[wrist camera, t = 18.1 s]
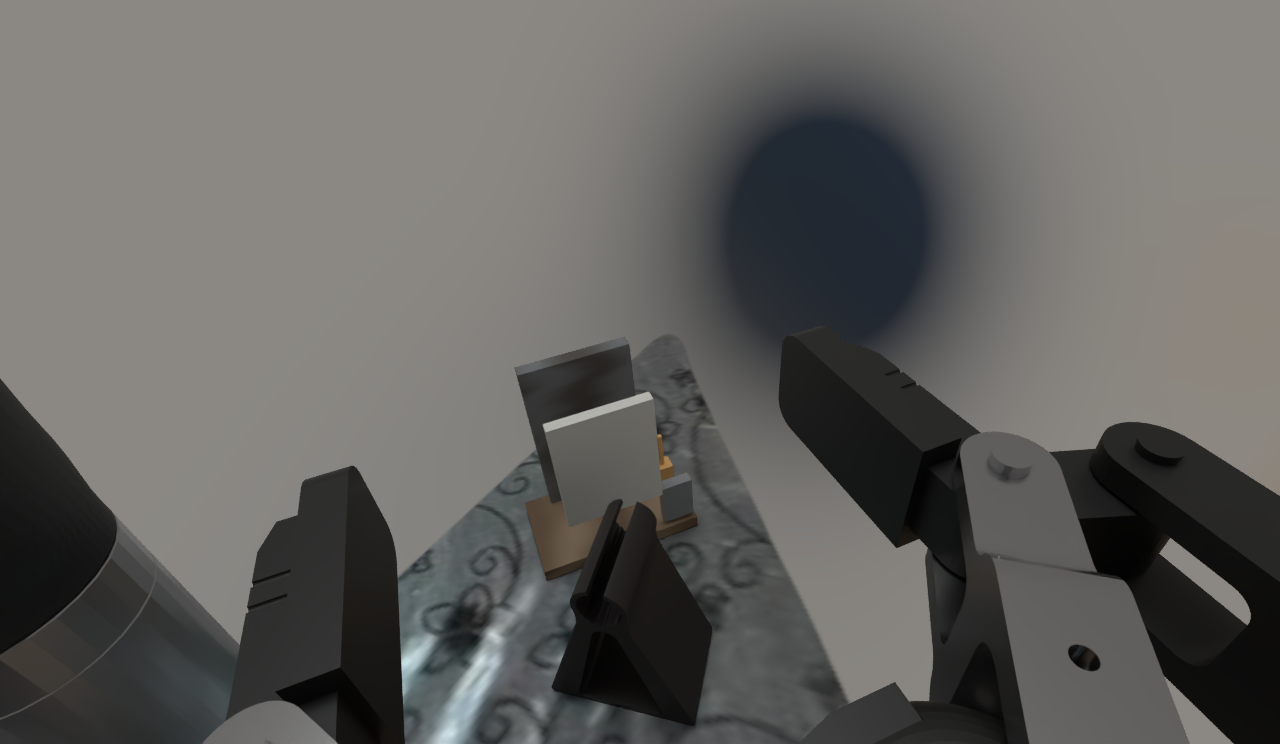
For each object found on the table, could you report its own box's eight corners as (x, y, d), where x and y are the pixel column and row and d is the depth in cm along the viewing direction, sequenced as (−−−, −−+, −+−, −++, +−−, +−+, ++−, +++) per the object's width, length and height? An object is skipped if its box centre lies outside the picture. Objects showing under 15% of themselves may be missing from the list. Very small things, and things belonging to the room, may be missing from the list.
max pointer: (657, 487, 48) (653, 443, 45) (652, 476, 48) (647, 433, 46) (674, 481, 48) (670, 438, 45) (668, 471, 49) (664, 428, 46)
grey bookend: (547, 580, 43) (503, 440, 35) (527, 511, 49) (485, 375, 40) (697, 524, 46) (690, 383, 38) (663, 465, 51) (650, 329, 43)
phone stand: (552, 690, 37) (509, 576, 30) (585, 604, 41) (555, 487, 34) (694, 727, 35) (685, 614, 27) (713, 631, 39) (709, 512, 32)
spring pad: (576, 554, 43) (545, 432, 36) (573, 546, 44) (542, 424, 36) (693, 512, 45) (686, 388, 38) (688, 504, 46) (681, 381, 39)
